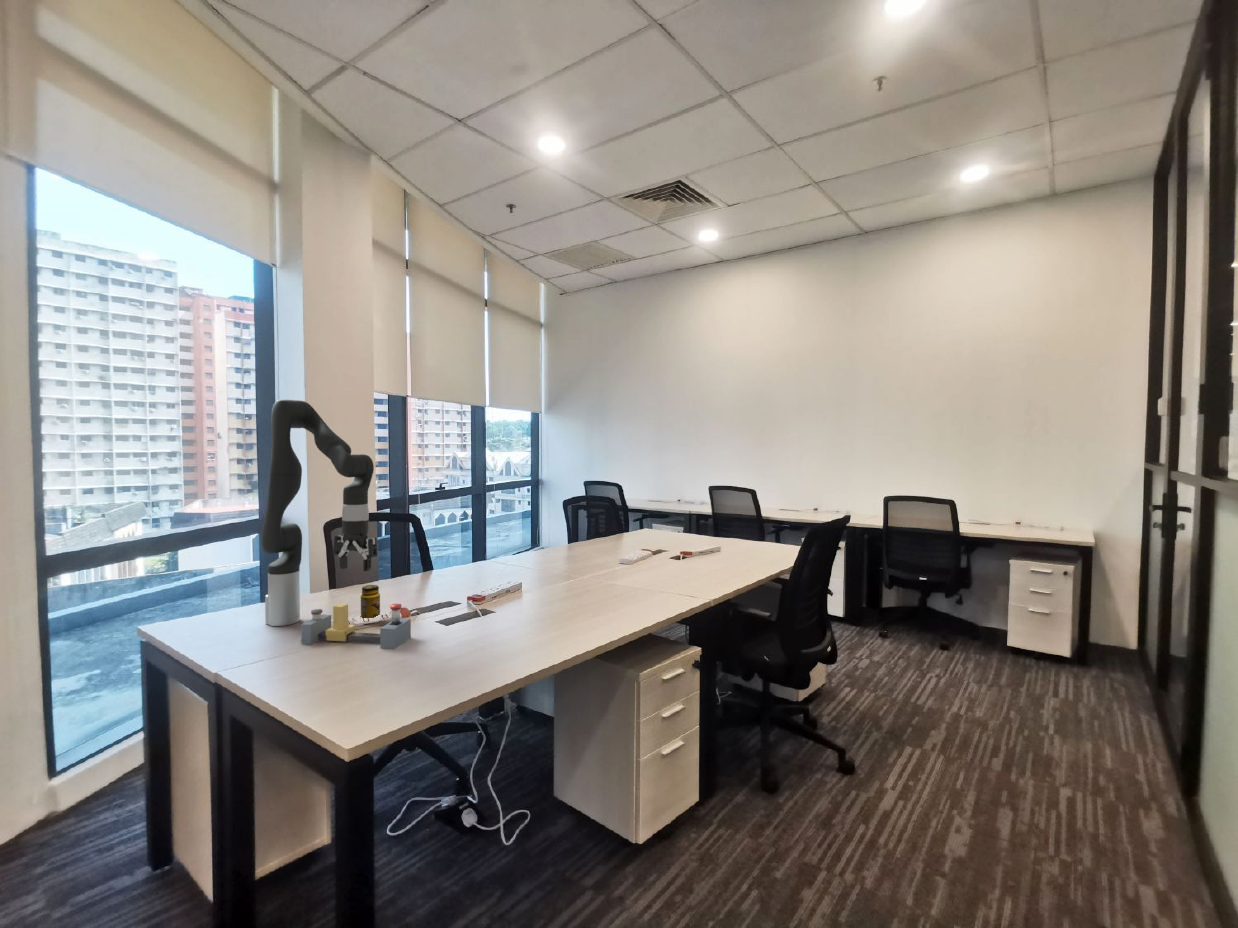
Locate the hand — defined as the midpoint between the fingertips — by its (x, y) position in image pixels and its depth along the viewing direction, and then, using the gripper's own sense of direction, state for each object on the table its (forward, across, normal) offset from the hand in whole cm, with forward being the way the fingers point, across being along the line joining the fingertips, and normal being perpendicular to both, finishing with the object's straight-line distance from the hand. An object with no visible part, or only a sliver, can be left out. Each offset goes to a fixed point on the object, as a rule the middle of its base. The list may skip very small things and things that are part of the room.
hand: (355, 569), depth 175 cm
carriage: (+21, -2, -4) cm, 22 cm away
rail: (+21, +3, -3) cm, 22 cm away
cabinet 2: (+21, +16, -1) cm, 26 cm away
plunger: (+15, +16, -1) cm, 22 cm away
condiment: (+22, -7, +14) cm, 26 cm away
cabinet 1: (+21, -10, -5) cm, 24 cm away
